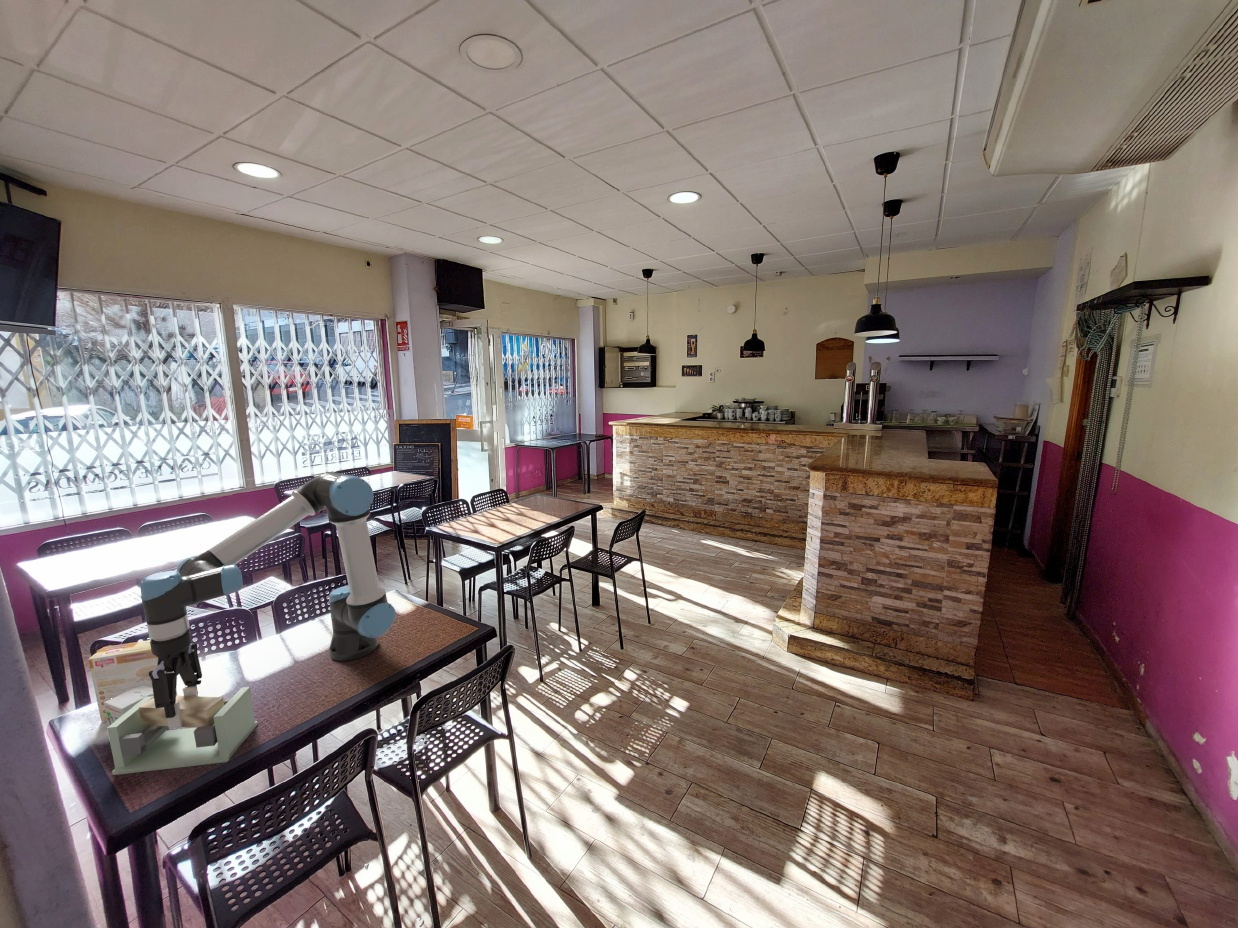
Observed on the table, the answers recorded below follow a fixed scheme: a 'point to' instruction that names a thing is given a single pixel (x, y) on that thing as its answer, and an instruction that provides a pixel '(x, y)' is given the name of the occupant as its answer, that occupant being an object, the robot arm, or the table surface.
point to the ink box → (125, 702)
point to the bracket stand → (180, 738)
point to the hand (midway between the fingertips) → (184, 717)
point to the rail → (184, 711)
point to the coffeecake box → (121, 670)
